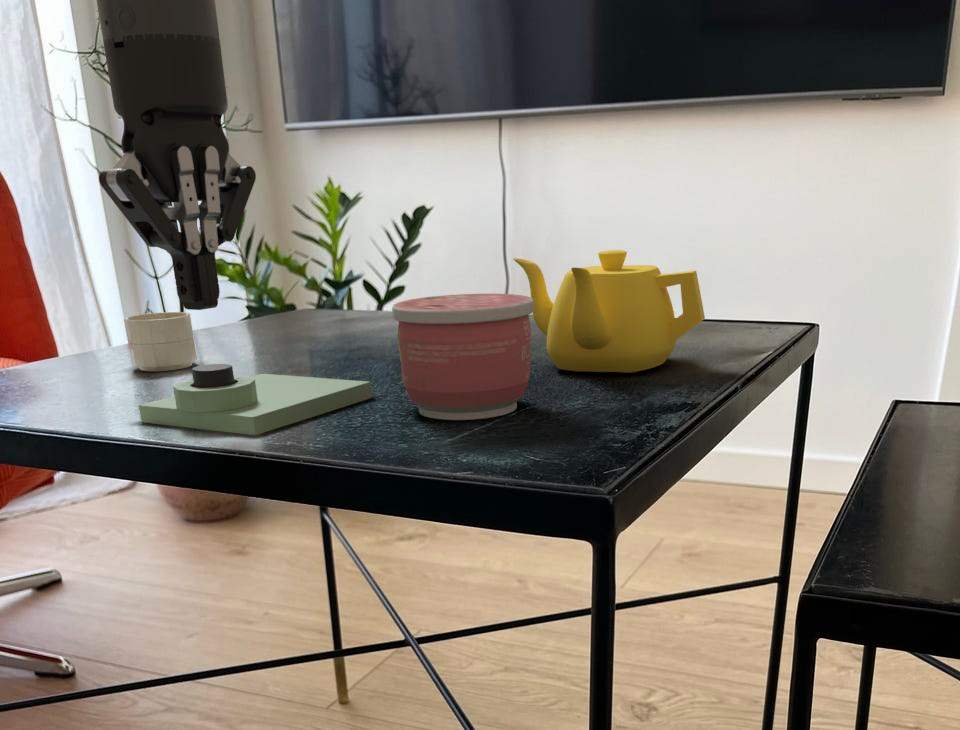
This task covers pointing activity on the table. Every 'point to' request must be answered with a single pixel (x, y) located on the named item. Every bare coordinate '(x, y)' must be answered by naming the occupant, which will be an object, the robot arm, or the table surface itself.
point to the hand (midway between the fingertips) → (200, 308)
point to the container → (465, 353)
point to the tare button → (213, 375)
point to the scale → (254, 403)
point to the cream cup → (161, 341)
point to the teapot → (613, 314)
